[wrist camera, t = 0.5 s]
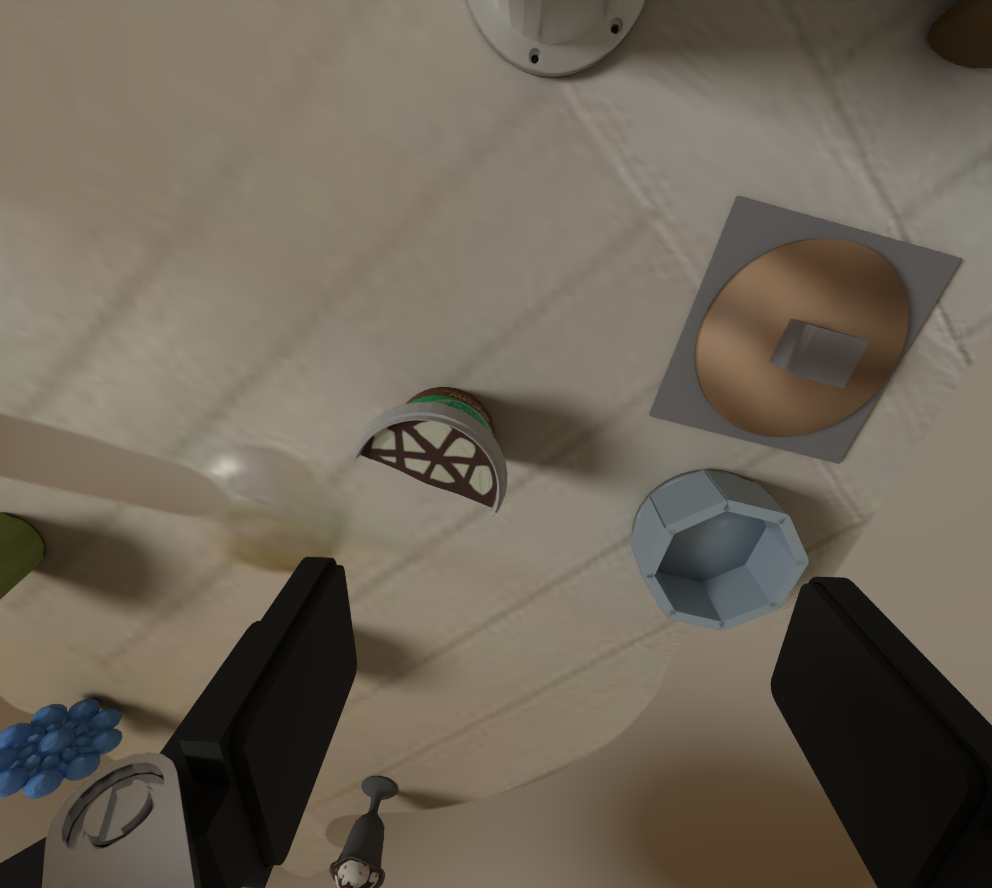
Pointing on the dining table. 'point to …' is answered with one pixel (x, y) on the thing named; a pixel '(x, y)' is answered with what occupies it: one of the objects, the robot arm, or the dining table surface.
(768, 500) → the bowl
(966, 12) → the kendama
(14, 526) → the plant pot
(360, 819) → the sundae
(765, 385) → the lid
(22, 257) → the dining table surface
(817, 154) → the dining table surface
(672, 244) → the dining table surface
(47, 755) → the grapes
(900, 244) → the mat
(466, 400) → the food container
